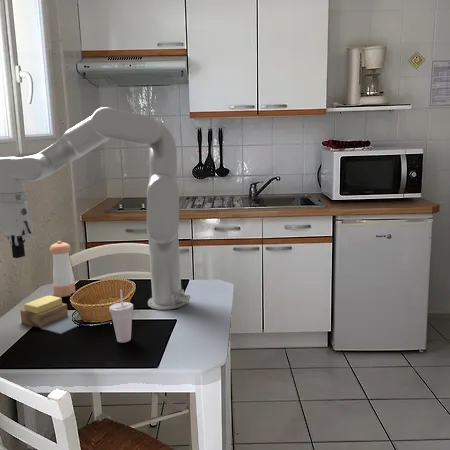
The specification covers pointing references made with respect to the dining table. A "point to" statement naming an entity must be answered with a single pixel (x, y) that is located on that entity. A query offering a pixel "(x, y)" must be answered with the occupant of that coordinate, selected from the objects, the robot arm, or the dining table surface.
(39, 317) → the block
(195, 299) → the dining table surface
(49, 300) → the pale yellow block
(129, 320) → the smoothie
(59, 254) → the pepper shaker
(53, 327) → the mat
